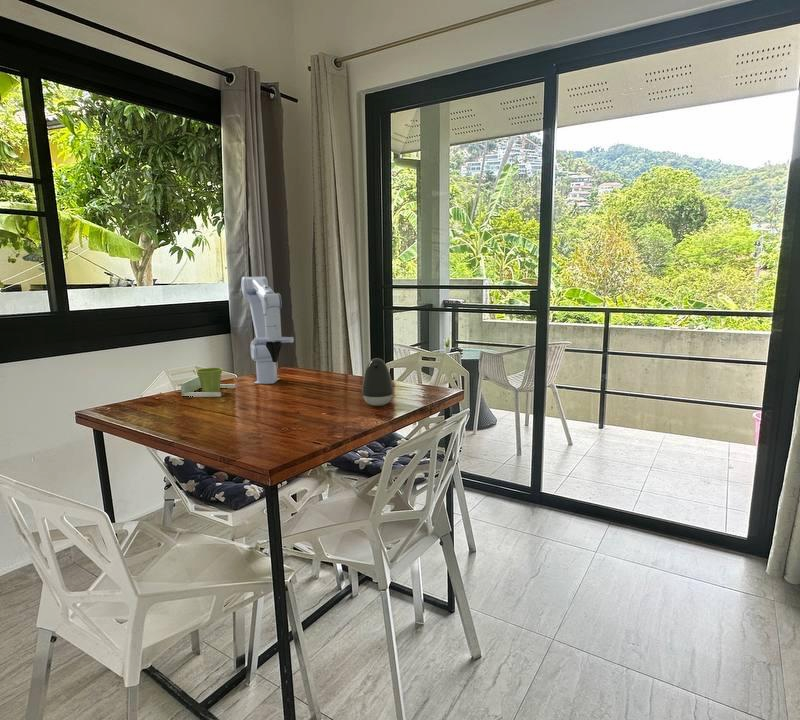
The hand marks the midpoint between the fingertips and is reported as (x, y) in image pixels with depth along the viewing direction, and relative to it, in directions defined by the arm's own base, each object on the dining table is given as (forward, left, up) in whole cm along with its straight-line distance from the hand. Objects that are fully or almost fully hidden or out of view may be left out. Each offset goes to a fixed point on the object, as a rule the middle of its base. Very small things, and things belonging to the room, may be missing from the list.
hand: (275, 361), depth 193 cm
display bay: (+5, -23, -10) cm, 26 cm away
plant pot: (+5, -23, -11) cm, 26 cm away
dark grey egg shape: (+26, +41, -11) cm, 50 cm away
